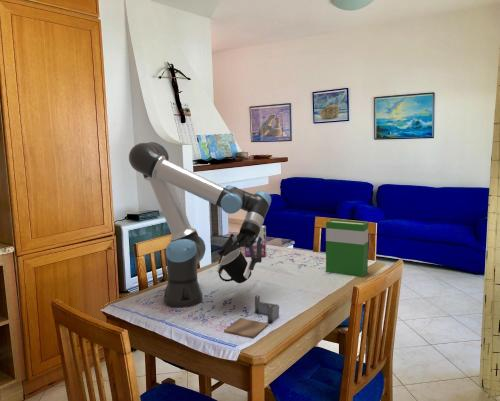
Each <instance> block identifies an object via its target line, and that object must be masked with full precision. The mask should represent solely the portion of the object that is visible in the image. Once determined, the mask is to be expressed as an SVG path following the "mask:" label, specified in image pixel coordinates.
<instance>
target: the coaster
mask: <svg viewBox="0 0 500 401" xmlns="http://www.w3.org/2000/svg"><path fill="white" fill-rule="evenodd" d="M268 326H269V323H268V322H263V321H257V320H252V319H246V318H243V317H239V318H238V319H237V320H235V321H234V322H233V323H231V324H230V325H229V326H227V328H225V329H224V330H223V332H224V333H226V334H227V333H228V334H232V335H236V336H241V337H244V338H250V339H254V338H256V337H257V336H258V335H260V333H261V332H262V331H264V330H265V329H266V328H267V327H268Z"/></svg>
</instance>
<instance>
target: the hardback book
mask: <svg viewBox="0 0 500 401" xmlns="http://www.w3.org/2000/svg"><path fill="white" fill-rule="evenodd" d="M368 265H369V221H361V220H349V219H347V220H346V219H338V218H337V219H336V218H335V219H334V218H331V219H330V221H326V222H325V272H326V273H330V274H336V275H337V274H338V275H343V276H344V275H346V276H351V277H360V278H364V277H365V276H366V275H367V274H368V273H369V272H368V271H369V268H368V267H369V266H368Z"/></svg>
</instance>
